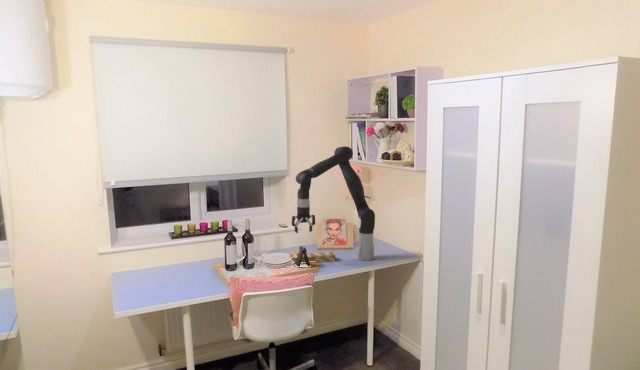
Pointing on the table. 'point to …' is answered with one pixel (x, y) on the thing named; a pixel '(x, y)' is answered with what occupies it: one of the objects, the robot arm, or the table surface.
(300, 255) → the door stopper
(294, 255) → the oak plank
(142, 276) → the table surface
